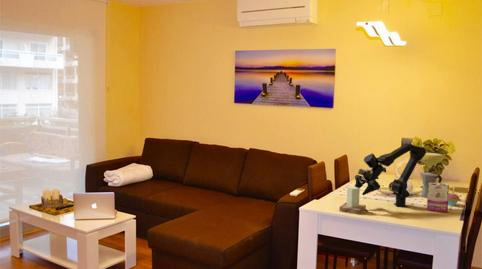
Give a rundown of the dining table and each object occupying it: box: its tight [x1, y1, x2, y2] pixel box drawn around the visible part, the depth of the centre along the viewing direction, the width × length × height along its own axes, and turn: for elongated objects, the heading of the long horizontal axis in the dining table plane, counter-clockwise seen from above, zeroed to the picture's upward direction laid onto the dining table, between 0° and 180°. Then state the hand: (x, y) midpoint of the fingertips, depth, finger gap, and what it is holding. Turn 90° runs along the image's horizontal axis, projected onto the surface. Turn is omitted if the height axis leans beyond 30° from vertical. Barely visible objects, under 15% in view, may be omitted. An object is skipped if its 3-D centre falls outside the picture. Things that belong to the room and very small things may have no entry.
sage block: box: [346, 186, 361, 208], centre depth 259 cm, size 5×5×11 cm
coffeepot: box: [420, 169, 443, 199], centre depth 292 cm, size 15×9×18 cm, turn 33°
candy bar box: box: [426, 182, 450, 213], centre depth 259 cm, size 11×5×16 cm, turn 68°
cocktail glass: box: [419, 151, 445, 189], centre depth 318 cm, size 18×18×25 cm
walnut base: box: [339, 202, 367, 215], centre depth 260 cm, size 12×12×2 cm
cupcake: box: [448, 186, 460, 207], centre depth 273 cm, size 9×8×12 cm
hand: (358, 192), depth 260 cm, fingers open, 9 cm apart
